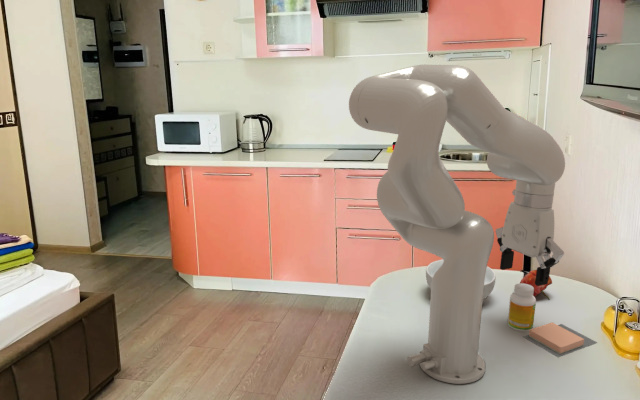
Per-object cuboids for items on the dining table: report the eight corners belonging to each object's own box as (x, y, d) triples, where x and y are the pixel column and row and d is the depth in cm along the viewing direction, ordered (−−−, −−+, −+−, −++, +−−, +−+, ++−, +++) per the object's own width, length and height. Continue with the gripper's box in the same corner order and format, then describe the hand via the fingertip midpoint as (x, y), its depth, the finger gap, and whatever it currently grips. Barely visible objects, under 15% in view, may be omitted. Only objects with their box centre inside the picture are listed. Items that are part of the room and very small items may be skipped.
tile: (583, 345, 110) (560, 354, 107) (551, 328, 117) (528, 336, 114) (584, 339, 110) (560, 347, 107) (552, 322, 117) (529, 329, 114)
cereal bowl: (411, 289, 138) (413, 264, 136) (464, 278, 144) (465, 254, 142) (451, 318, 123) (453, 290, 121) (508, 304, 129) (510, 278, 127)
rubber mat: (557, 359, 106) (558, 357, 106) (522, 338, 114) (522, 336, 114) (597, 344, 112) (597, 342, 111) (561, 325, 119) (561, 323, 119)
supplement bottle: (534, 333, 116) (539, 293, 113) (509, 331, 117) (513, 291, 114) (530, 322, 121) (535, 282, 118) (505, 319, 122) (509, 280, 119)
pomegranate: (549, 302, 135) (522, 271, 139) (568, 288, 130) (539, 256, 134) (533, 314, 131) (506, 281, 135) (552, 299, 126) (523, 266, 130)
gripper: (489, 192, 117) (481, 265, 121) (555, 211, 102) (543, 294, 106) (514, 189, 120) (505, 261, 124) (581, 208, 105) (568, 288, 109)
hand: (522, 276), depth 115 cm, fingers open, 9 cm apart
